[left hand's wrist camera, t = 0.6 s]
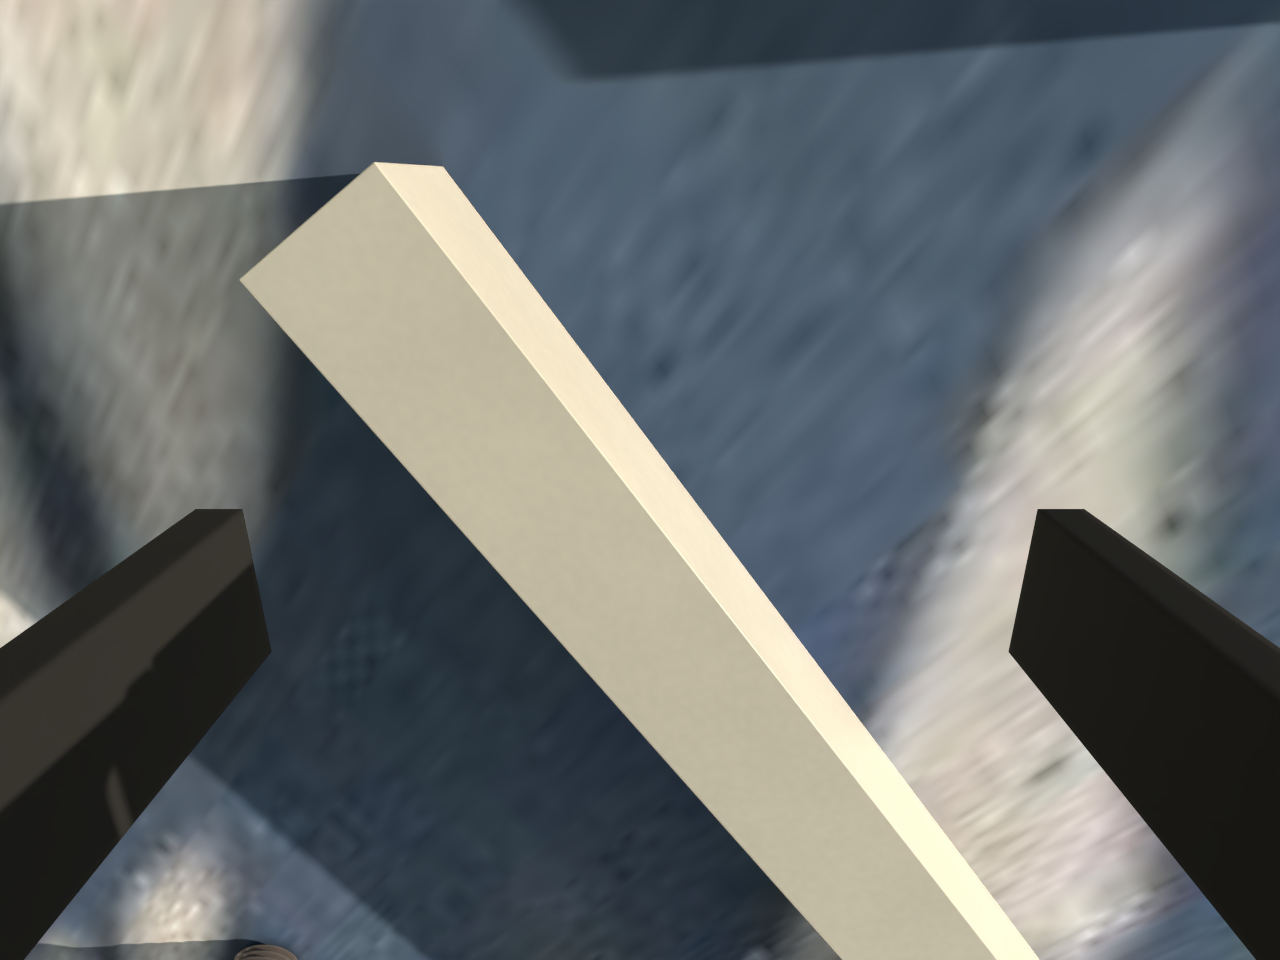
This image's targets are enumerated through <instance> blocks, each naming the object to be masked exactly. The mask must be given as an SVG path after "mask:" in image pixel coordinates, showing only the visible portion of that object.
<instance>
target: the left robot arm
mask: <svg viewBox="0 0 1280 960" xmlns="http://www.w3.org/2000/svg"><path fill="white" fill-rule="evenodd" d="M270 653H271V648H270V643H269V638H268V633H267V628H266V623H265V618H264V613H263V608H262V604H261V599H260V594H259V589H258V584H257V579H256V574H255V569H254V564H253V559H252V555H251V550H250V545H249V540H248V535H247V530H246V525H245V520H244V515H243V510H242V509H195V510H194V511H193V512H191V513H190V514H188V515H187V516H186V517H184V518H183V519H181V520H180V521H179V522H177V523H176V524H174V525H173V526H172V527H170V528H169V529H167V530H166V531H164V532H163V533H162V534H160V535H159V536H157V537H156V538H155V539H153V540H152V541H150V542H149V543H148V544H146V545H145V546H143V547H142V548H141V549H139V550H138V551H136V552H135V553H134V554H132V555H131V556H129V557H128V558H127V559H125V560H124V561H122V562H121V563H119V564H118V565H117V566H115V567H114V568H112V569H111V570H110V571H108V572H107V573H105V574H104V575H103V576H101V577H100V578H98V579H97V580H96V581H94V582H93V583H91V584H90V585H89V586H87V587H86V588H84V589H83V590H82V591H80V592H79V593H77V594H76V595H74V596H73V597H72V598H70V599H69V600H67V601H66V602H65V603H63V604H62V605H60V606H59V607H58V608H56V609H55V610H53V611H52V612H51V613H49V614H48V615H46V616H45V617H44V618H42V619H41V620H39V621H38V622H37V623H35V624H34V625H32V626H31V627H29V628H28V629H27V630H25V631H24V632H22V633H21V634H20V635H18V636H17V637H15V638H14V639H13V640H11V641H10V642H8V643H7V644H6V645H4V646H3V647H1V648H0V960H24V959H25V958H26V956H27V955H28V954H29V953H30V951H31V950H32V949H33V948H34V946H35V945H36V944H37V943H38V941H39V940H40V939H41V938H42V936H43V935H44V934H45V933H46V931H47V930H48V929H49V928H50V926H51V925H52V924H53V923H54V921H55V920H56V919H57V918H58V917H59V915H60V914H61V913H62V912H63V910H64V909H65V908H66V907H67V905H68V904H69V903H70V902H71V900H72V899H73V898H74V897H75V895H76V894H77V893H78V892H79V890H80V889H81V888H82V887H83V885H84V884H85V883H86V882H87V880H88V879H89V878H90V877H91V875H92V874H93V873H94V872H95V871H96V869H97V868H98V867H99V866H100V864H101V863H102V862H103V861H104V859H105V858H106V857H107V856H108V854H109V853H110V852H111V851H112V849H113V848H114V847H115V846H116V844H117V843H118V842H119V841H120V839H121V838H122V837H123V836H124V834H125V833H126V832H127V831H128V829H129V828H130V827H131V826H132V824H133V823H134V822H135V821H136V820H137V818H138V817H139V816H140V815H141V813H142V812H143V811H144V810H145V808H146V807H147V806H148V805H149V803H150V802H151V801H152V800H153V798H154V797H155V796H156V795H157V793H158V792H159V791H160V790H161V788H162V787H163V786H164V785H165V783H166V782H167V781H168V780H169V778H170V777H171V776H172V775H173V773H174V772H175V771H176V770H177V769H178V767H179V766H180V765H181V764H182V762H183V761H184V760H185V759H186V757H187V756H188V755H189V754H190V752H191V751H192V750H193V749H194V747H195V746H196V745H197V744H198V742H199V741H200V740H201V739H202V737H203V736H204V735H205V734H206V732H207V731H208V730H209V729H210V727H211V726H212V725H213V724H214V723H215V721H216V720H217V719H218V718H219V716H220V715H221V714H222V713H223V711H224V710H225V709H226V708H227V706H228V705H229V704H230V703H231V701H232V700H233V699H234V698H235V696H236V695H237V694H238V693H239V691H240V690H241V689H242V688H243V686H244V685H245V684H246V683H247V681H248V680H249V679H250V678H251V676H252V675H253V674H254V673H255V672H256V670H257V669H258V668H259V667H260V665H261V664H262V663H263V662H264V660H265V659H266V658H267V657H268V655H269V654H270ZM1009 653H1010V654H1011V655H1012V657H1013V658H1014V659H1015V660H1016V662H1017V663H1018V664H1019V665H1020V667H1021V668H1022V669H1023V670H1024V672H1025V673H1026V674H1027V675H1028V676H1029V678H1030V679H1031V680H1032V681H1033V683H1034V684H1035V685H1036V686H1037V688H1038V689H1039V690H1040V691H1041V693H1042V694H1043V695H1044V696H1045V698H1046V699H1047V700H1048V701H1049V703H1050V704H1051V705H1052V706H1053V708H1054V709H1055V710H1056V711H1057V713H1058V714H1059V715H1060V716H1061V718H1062V719H1063V720H1064V721H1065V723H1066V724H1067V725H1068V726H1069V727H1070V729H1071V730H1072V731H1073V732H1074V734H1075V735H1076V736H1077V737H1078V739H1079V740H1080V741H1081V742H1082V744H1083V745H1084V746H1085V747H1086V749H1087V750H1088V751H1089V752H1090V754H1091V755H1092V756H1093V757H1094V759H1095V760H1096V761H1097V762H1098V764H1099V765H1100V766H1101V767H1102V769H1103V770H1104V771H1105V772H1106V774H1107V775H1108V776H1109V777H1110V778H1111V780H1112V781H1113V782H1114V783H1115V785H1116V786H1117V787H1118V788H1119V790H1120V791H1121V792H1122V793H1123V795H1124V796H1125V797H1126V798H1127V800H1128V801H1129V802H1130V803H1131V805H1132V806H1133V807H1134V808H1135V810H1136V811H1137V812H1138V813H1139V815H1140V816H1141V817H1142V818H1143V820H1144V821H1145V822H1146V823H1147V824H1148V826H1149V827H1150V828H1151V829H1152V831H1153V832H1154V833H1155V834H1156V836H1157V837H1158V838H1159V839H1160V841H1161V842H1162V843H1163V844H1164V846H1165V847H1166V848H1167V849H1168V851H1169V852H1170V853H1171V854H1172V856H1173V857H1174V858H1175V859H1176V861H1177V862H1178V863H1179V864H1180V866H1181V867H1182V868H1183V869H1184V871H1185V872H1186V873H1187V874H1188V875H1189V877H1190V878H1191V879H1192V880H1193V882H1194V883H1195V884H1196V885H1197V887H1198V888H1199V889H1200V890H1201V892H1202V893H1203V894H1204V895H1205V897H1206V898H1207V899H1208V900H1209V902H1210V903H1211V904H1212V905H1213V907H1214V908H1215V909H1216V910H1217V912H1218V913H1219V914H1220V915H1221V917H1222V918H1223V919H1224V920H1225V921H1226V923H1227V924H1228V925H1229V926H1230V928H1231V929H1232V930H1233V931H1234V933H1235V934H1236V935H1237V936H1238V938H1239V939H1240V940H1241V941H1242V943H1243V944H1244V945H1245V946H1246V948H1247V949H1248V950H1249V951H1250V953H1251V954H1252V955H1253V956H1254V958H1255V959H1256V960H1280V648H1279V647H1277V646H1276V645H1274V644H1273V643H1272V642H1270V641H1269V640H1267V639H1266V638H1265V637H1263V636H1262V635H1260V634H1259V633H1258V632H1256V631H1255V630H1253V629H1252V628H1251V627H1249V626H1248V625H1246V624H1245V623H1243V622H1242V621H1241V620H1239V619H1238V618H1236V617H1235V616H1234V615H1232V614H1231V613H1229V612H1228V611H1227V610H1225V609H1224V608H1222V607H1221V606H1220V605H1218V604H1217V603H1215V602H1214V601H1213V600H1211V599H1210V598H1208V597H1207V596H1206V595H1204V594H1203V593H1201V592H1200V591H1198V590H1197V589H1196V588H1194V587H1193V586H1191V585H1190V584H1189V583H1187V582H1186V581H1184V580H1183V579H1182V578H1180V577H1179V576H1177V575H1176V574H1175V573H1173V572H1172V571H1170V570H1169V569H1168V568H1166V567H1165V566H1163V565H1162V564H1161V563H1159V562H1158V561H1156V560H1155V559H1153V558H1152V557H1151V556H1149V555H1148V554H1146V553H1145V552H1144V551H1142V550H1141V549H1139V548H1138V547H1137V546H1135V545H1134V544H1132V543H1131V542H1130V541H1128V540H1127V539H1125V538H1124V537H1123V536H1121V535H1120V534H1118V533H1117V532H1116V531H1114V530H1113V529H1111V528H1110V527H1108V526H1107V525H1106V524H1104V523H1103V522H1101V521H1100V520H1099V519H1097V518H1096V517H1094V516H1093V515H1092V514H1090V513H1089V512H1087V511H1086V510H1085V509H1038V510H1037V515H1036V520H1035V525H1034V530H1033V535H1032V540H1031V545H1030V550H1029V555H1028V559H1027V564H1026V569H1025V574H1024V579H1023V584H1022V589H1021V594H1020V599H1019V604H1018V608H1017V613H1016V618H1015V623H1014V628H1013V633H1012V638H1011V643H1010V648H1009Z"/></svg>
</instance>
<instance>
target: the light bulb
mask: <svg viewBox="0 0 1280 960" xmlns="http://www.w3.org/2000/svg"><path fill="white" fill-rule="evenodd" d="M234 960H297V958H296V957H295V956H294V955H293V954H292V953H291V952H289V951H287V950H286V949H283V948H280V947H277V946H272V945H255V946H251V947H248V948H245V949H243V950H242V951H240V952H239V953H238V954H237V955H236V956H235V958H234Z"/></svg>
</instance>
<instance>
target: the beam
mask: <svg viewBox="0 0 1280 960" xmlns="http://www.w3.org/2000/svg"><path fill="white" fill-rule="evenodd" d="M239 281H240V282H241V283H242V284H243V285H244V287H245V288H246V289H247V290H248V291H249V292H250V293H251V294H252V296H253V297H254V298H255V299H256V300H257V301H258V302H259V303H260V305H261V306H262V307H263V308H264V309H265V310H266V311H267V312H268V314H269V315H270V316H271V317H272V318H273V319H274V320H275V322H276V323H277V324H278V325H279V326H280V327H281V328H282V329H283V331H284V332H285V333H286V334H287V335H288V336H289V337H290V338H291V340H292V341H293V342H294V343H295V344H296V345H297V346H298V347H299V349H300V350H301V351H302V352H303V353H304V354H305V355H306V356H307V358H308V359H309V360H310V361H311V362H312V363H313V364H314V365H315V367H316V368H317V369H318V370H319V371H320V372H321V373H322V374H323V376H324V377H325V378H326V379H327V380H328V381H329V382H330V384H331V385H332V386H333V387H334V388H335V389H336V390H337V391H338V393H339V394H340V395H341V396H342V397H343V398H344V399H345V400H346V402H347V403H348V404H349V405H350V406H351V407H352V408H353V409H354V411H355V412H356V413H357V414H358V415H359V416H360V417H361V418H362V420H363V421H364V422H365V423H366V424H367V425H368V426H369V427H370V429H371V430H372V431H373V432H374V433H375V434H376V435H377V436H378V438H379V439H380V440H381V441H382V442H383V443H384V444H385V446H386V447H387V448H388V449H389V450H390V451H391V452H392V453H393V455H394V456H395V457H396V458H397V459H398V460H399V461H400V462H401V464H402V465H403V466H404V467H405V468H406V469H407V470H408V471H409V473H410V474H411V475H412V476H413V477H414V478H415V479H416V480H417V482H418V483H419V484H420V485H421V486H422V487H423V488H424V489H425V491H426V492H427V493H428V494H429V495H430V496H431V497H432V498H433V500H434V501H435V502H436V503H437V504H438V505H439V506H440V507H441V509H442V510H443V511H444V512H445V513H446V514H447V515H448V517H449V518H450V519H451V520H452V521H453V522H454V523H455V524H456V526H457V527H458V528H459V529H460V530H461V531H462V532H463V533H464V535H465V536H466V537H467V538H468V539H469V540H470V541H471V542H472V544H473V545H474V546H475V547H476V548H477V549H478V550H479V551H480V553H481V554H482V555H483V556H484V557H485V558H486V559H487V560H488V562H489V563H490V564H491V565H492V566H493V567H494V568H495V569H496V571H497V572H498V573H499V574H500V575H501V576H502V577H503V579H504V580H505V581H506V582H507V583H508V584H509V585H510V586H511V588H512V589H513V590H514V591H515V592H516V593H517V594H518V595H519V597H520V598H521V599H522V600H523V601H524V602H525V603H526V604H527V606H528V607H529V608H530V609H531V610H532V611H533V612H534V613H535V615H536V616H537V617H538V618H539V619H540V620H541V621H542V622H543V624H544V625H545V626H546V627H547V628H548V629H549V630H550V631H551V633H552V634H553V635H554V636H555V637H556V638H557V639H558V641H559V642H560V643H561V644H562V645H563V646H564V647H565V648H566V650H567V651H568V652H569V653H570V654H571V655H572V656H573V657H574V659H575V660H576V661H577V662H578V663H579V664H580V665H581V666H582V668H583V669H584V670H585V671H586V672H587V673H588V674H589V675H590V677H591V678H592V679H593V680H594V681H595V682H596V683H597V684H598V686H599V687H600V688H601V689H602V690H603V691H604V692H605V693H606V695H607V696H608V697H609V698H610V699H611V700H612V701H613V703H614V704H615V705H616V706H617V707H618V708H619V709H620V710H621V712H622V713H623V714H624V715H625V716H626V717H627V718H628V719H629V721H630V722H631V723H632V724H633V725H634V726H635V727H636V728H637V730H638V731H639V732H640V733H641V734H642V735H643V736H644V737H645V739H646V740H647V741H648V742H649V743H650V744H651V745H652V746H653V748H654V749H655V750H656V751H657V752H658V753H659V754H660V755H661V757H662V758H663V759H664V760H665V761H666V762H667V763H668V764H669V766H670V767H671V768H672V769H673V770H674V771H675V772H676V774H677V775H678V776H679V777H680V778H681V779H682V780H683V781H684V783H685V784H686V785H687V786H688V787H689V788H690V789H691V790H692V792H693V793H694V794H695V795H696V796H697V797H698V798H699V799H700V801H701V802H702V803H703V804H704V805H705V806H706V807H707V808H708V810H709V811H710V812H711V813H712V814H713V815H714V816H715V817H716V819H717V820H718V821H719V822H720V823H721V824H722V825H723V826H724V828H725V829H726V830H727V831H728V832H729V833H730V834H731V836H732V837H733V838H734V839H735V840H736V841H737V842H738V843H739V845H740V846H741V847H742V848H743V849H744V850H745V851H746V852H747V854H748V855H749V856H750V857H751V858H752V859H753V860H754V861H755V863H756V864H757V865H758V866H759V867H760V868H761V869H762V870H763V872H764V873H765V874H766V875H767V876H768V877H769V878H770V879H771V881H772V882H773V883H774V884H775V885H776V886H777V887H778V888H779V890H780V891H781V892H782V893H783V894H784V895H785V896H786V898H787V899H788V900H789V901H790V902H791V903H792V904H793V905H794V907H795V908H796V909H797V910H798V911H799V912H800V913H801V914H802V916H803V917H804V918H805V919H806V920H807V921H808V922H809V923H810V925H811V926H812V927H813V928H814V929H815V930H816V931H817V932H818V934H819V935H820V936H821V937H822V938H823V939H824V940H825V941H826V943H827V944H828V945H829V946H830V947H831V948H832V949H833V950H834V952H835V953H836V954H837V955H838V956H839V957H840V958H841V960H1039V958H1038V957H1037V956H1036V954H1035V953H1034V952H1033V950H1032V949H1031V948H1030V946H1029V945H1028V944H1027V942H1026V941H1025V940H1024V938H1023V937H1022V936H1021V935H1020V933H1019V932H1018V931H1017V929H1016V928H1015V927H1014V925H1013V924H1012V923H1011V921H1010V920H1009V919H1008V917H1007V916H1006V915H1005V913H1004V912H1003V911H1002V909H1001V908H1000V907H999V905H998V904H997V903H996V901H995V900H994V899H993V897H992V896H991V895H990V893H989V892H988V891H987V889H986V888H985V887H984V885H983V884H982V883H981V881H980V880H979V879H978V877H977V876H976V875H975V873H974V872H973V871H972V869H971V868H970V867H969V865H968V864H967V863H966V861H965V860H964V859H963V857H962V856H961V855H960V853H959V852H958V851H957V849H956V848H955V847H954V845H953V844H952V843H951V841H950V840H949V839H948V837H947V836H946V835H945V833H944V832H943V831H942V829H941V828H940V827H939V826H938V824H937V823H936V822H935V820H934V819H933V818H932V816H931V815H930V814H929V812H928V811H927V810H926V808H925V807H924V806H923V804H922V803H921V802H920V800H919V799H918V798H917V796H916V795H915V794H914V792H913V791H912V790H911V788H910V787H909V786H908V784H907V783H906V782H905V780H904V779H903V778H902V776H901V775H900V774H899V772H898V771H897V770H896V768H895V767H894V766H893V764H892V763H891V762H890V760H889V759H888V758H887V756H886V755H885V754H884V752H883V751H882V750H881V748H880V747H879V746H878V744H877V743H876V742H875V740H874V739H873V738H872V736H871V735H870V734H869V732H868V731H867V730H866V728H865V727H864V726H863V724H862V723H861V722H860V720H859V719H858V718H857V716H856V715H855V714H854V713H853V711H852V710H851V709H850V707H849V706H848V705H847V703H846V702H845V701H844V699H843V698H842V697H841V695H840V694H839V693H838V691H837V690H836V689H835V687H834V686H833V685H832V683H831V682H830V681H829V679H828V678H827V677H826V675H825V674H824V673H823V671H822V670H821V669H820V667H819V666H818V665H817V663H816V662H815V661H814V659H813V658H812V657H811V655H810V654H809V653H808V651H807V650H806V649H805V647H804V646H803V645H802V643H801V642H800V641H799V639H798V638H797V637H796V635H795V634H794V633H793V631H792V630H791V629H790V627H789V626H788V625H787V623H786V622H785V621H784V619H783V618H782V617H781V615H780V614H779V613H778V611H777V610H776V609H775V607H774V606H773V605H772V604H771V602H770V601H769V600H768V598H767V597H766V596H765V594H764V593H763V592H762V590H761V589H760V588H759V586H758V585H757V584H756V582H755V581H754V580H753V578H752V577H751V576H750V574H749V573H748V572H747V570H746V569H745V568H744V566H743V565H742V564H741V562H740V561H739V560H738V558H737V557H736V556H735V554H734V553H733V552H732V550H731V549H730V548H729V546H728V545H727V544H726V542H725V541H724V540H723V538H722V537H721V536H720V534H719V533H718V532H717V530H716V529H715V528H714V526H713V525H712V524H711V522H710V521H709V520H708V518H707V517H706V516H705V514H704V513H703V512H702V510H701V509H700V508H699V506H698V505H697V504H696V502H695V501H694V500H693V498H692V497H691V496H690V494H689V493H688V492H687V491H686V489H685V488H684V487H683V485H682V484H681V483H680V481H679V480H678V479H677V477H676V476H675V475H674V473H673V472H672V471H671V469H670V468H669V467H668V465H667V464H666V463H665V461H664V460H663V459H662V457H661V456H660V455H659V453H658V452H657V451H656V449H655V448H654V447H653V445H652V444H651V443H650V441H649V440H648V439H647V437H646V436H645V435H644V433H643V432H642V431H641V429H640V428H639V427H638V425H637V424H636V423H635V421H634V420H633V419H632V417H631V416H630V415H629V413H628V412H627V411H626V409H625V408H624V407H623V405H622V404H621V403H620V401H619V400H618V399H617V397H616V396H615V395H614V393H613V392H612V391H611V389H610V388H609V387H608V385H607V384H606V383H605V382H604V380H603V379H602V378H601V376H600V375H599V374H598V372H597V371H596V370H595V368H594V367H593V366H592V364H591V363H590V362H589V360H588V359H587V358H586V356H585V355H584V354H583V352H582V351H581V350H580V348H579V347H578V346H577V344H576V343H575V342H574V340H573V339H572V338H571V336H570V335H569V334H568V332H567V331H566V330H565V328H564V327H563V326H562V324H561V323H560V322H559V320H558V319H557V318H556V316H555V315H554V314H553V312H552V311H551V310H550V308H549V307H548V306H547V304H546V303H545V302H544V300H543V299H542V298H541V296H540V295H539V294H538V292H537V291H536V290H535V288H534V287H533V286H532V284H531V283H530V282H529V280H528V279H527V278H526V276H525V275H524V274H523V272H522V271H521V270H520V269H519V267H518V266H517V265H516V263H515V262H514V261H513V259H512V258H511V257H510V255H509V254H508V253H507V251H506V250H505V249H504V247H503V246H502V245H501V243H500V242H499V241H498V239H497V238H496V237H495V235H494V234H493V233H492V231H491V230H490V229H489V227H488V226H487V225H486V223H485V222H484V221H483V219H482V218H481V217H480V215H479V214H478V213H477V211H476V210H475V209H474V207H473V206H472V205H471V203H470V202H469V201H468V199H467V198H466V197H465V195H464V194H463V193H462V191H461V190H460V189H459V187H458V186H457V185H456V183H455V182H454V181H453V179H452V178H451V177H450V175H449V174H448V173H447V171H446V170H445V169H444V167H442V166H427V165H412V164H397V163H382V162H373V163H372V164H371V165H370V166H369V167H368V168H366V169H365V170H364V171H363V172H362V173H361V174H360V175H358V176H357V177H356V178H355V179H354V180H353V181H352V182H350V183H349V184H348V185H347V186H346V187H345V188H343V189H342V190H341V191H340V192H339V193H338V194H337V195H335V196H334V197H333V198H332V199H331V200H330V201H328V202H327V203H326V204H325V205H324V206H323V207H322V208H320V209H319V210H318V211H317V212H316V213H315V214H313V215H312V216H311V217H310V218H309V219H308V220H307V221H305V222H304V223H303V224H302V225H301V226H300V227H298V228H297V229H296V230H295V231H294V232H293V233H292V234H290V235H289V236H288V237H287V238H286V239H285V240H283V241H282V242H281V243H280V244H279V245H278V246H277V247H275V248H274V249H273V250H272V251H271V252H270V253H268V254H267V255H266V256H265V257H264V258H263V259H262V260H260V261H259V262H258V263H257V264H256V265H255V266H254V267H252V268H251V269H250V270H249V271H248V272H247V273H245V274H244V275H243V276H242V277H241V278H240V279H239Z"/></svg>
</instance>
